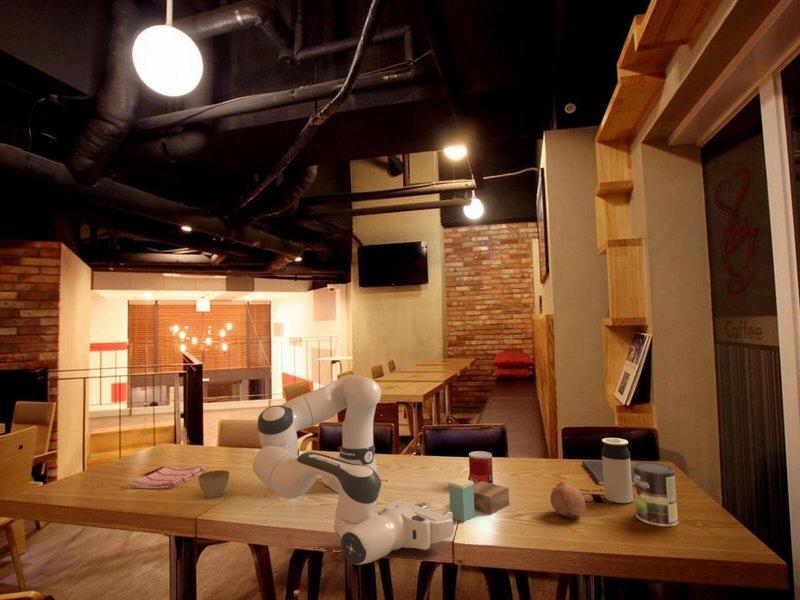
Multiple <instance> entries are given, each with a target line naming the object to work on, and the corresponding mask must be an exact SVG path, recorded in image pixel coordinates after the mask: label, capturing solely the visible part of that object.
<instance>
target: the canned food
mask: <svg viewBox="0 0 800 600" xmlns="http://www.w3.org/2000/svg"><path fill="white" fill-rule="evenodd" d="M468 465H469V467H468V468H469V469H468V470H469V480H470V481H474V484H476V483H478V482H481V481H484V482H487V483H491V484H494V475H493V474H494V471H493V455H492V453H491V452H489V451H483V450H482V451H480V450H478V451H476V450H475V451H471V452H469V453H468ZM474 484H473V485H474Z"/></svg>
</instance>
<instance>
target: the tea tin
mask: <svg viewBox="0 0 800 600" xmlns="http://www.w3.org/2000/svg"><path fill="white" fill-rule="evenodd" d="M473 484H474V481H470V479H466V478H461V477H457V478H455V479H454V480H453V479H452V480H451V481H448V487H449V488H448V489H449V494H448V495H449V511H450V512H452V515H453V517H452V518H455V519H457V520H456V521H458V520H460V521H459V522H461V521H462V522H461V523H463V522H465V521H467V520H469V521H470V520H472V519H474V518H475V516H476V515H475V511H476V510H475V509H474V487H473ZM455 519H454V520H455ZM467 522H468V521H467ZM465 523H466V522H465Z"/></svg>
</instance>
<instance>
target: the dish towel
mask: <svg viewBox="0 0 800 600" xmlns="http://www.w3.org/2000/svg"><path fill="white" fill-rule="evenodd" d="M205 471H207V466H204V465H203V466H202V465H201V466H188V467H187V466H186V467H183V466H182V467H177V466H166V467H163V468H160V469H158V470H157V471H155V472H154V473H150V474H149V475H145V476H142V477H139V478H137V479H132V481H130V487H131V489H134V488H135V489H145V490H147V489H155V490H159V489H168V490H170V489H171V490H172V489H174V488H177V487H178V486H180V485H182V484H184V483H185V482H188V481H190V480H192V479H194V478H195V477H198V476H199V475H201V474H203V473H205Z"/></svg>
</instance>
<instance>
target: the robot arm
mask: <svg viewBox="0 0 800 600" xmlns="http://www.w3.org/2000/svg"><path fill="white" fill-rule="evenodd" d="M381 398H382V389H381V386H380V385H379V384H378V382H376V381H375V380H374V379H372V378H370V377H369V376H364V375H363V376H362V375H357V374H347V375H343V376H340V378H337V379H336V380H334V381H331V382H329V383H328V384H326V385H325V386H322V387H320V388H318V389H317V388H316V389H314V390H311V391H309V392H306V393H303V394H300V395H299V396H296V397H293V398H292V399H289V400H287V401H286V402H284V403H282V404H280V405H272V406H269V407H267V408H265V409H264V410H262V411H261V413H260V414H259V415H258V417H257V429H258V437H259V442H260V446H261V449H259V450H258V451H257V452H256V454H255V455H254V458H253V460H252V471H253V473H254V474H255V475H256V476H257V478H258V479H259V480H260V481H261V482H262V483H263V484H264V485H266V487H268V488H269V489H271V491H272V492H274V493H276V494H277V495H279V496H281V497H282V498H285V499H289V500H290V499H296V498H299V497H301V496H303V495H304V494H306V493H307V492H308V491H309V490H310V489H311V487H312V486H313V484H314V483H315V481H316V479H317V477H318V476H322V477H323V478H322V479H321V483H322V484H323V485H325V486H327V487H328V488H329V489H331V490H333V491H334V492H335V493H337V494H338V499H337V504H336V509H335V516H334V521H333V522H334V523H333V527H334V531H335V533H336V535H337V536H338V538H340V548H341V552H342V554H343V556H344V557H345V559H346V560H347V561H348V562H350V563H351V564H353V565H358V566H360V565H365V564H370V563H373V562H375V561H377V560H380V559H382V558H384V557H386V556H388V554H390V553H391V552H392V551H397V550H399V549H401V548H403V549H405V548H406V549H407V548H408V549H411V548H412V549H419V550H424V551H426V550H428V549H430V548H431V544H438V543H440V542H442V541H444V540H446V539H448V538H449V537H451V536H452V535H453V534H454V519H452V517H453V515H452V512H450V510H445V511H443V514H442V513H439V512H436V511H433V510H430V509H427V503H426V502H424V501H420V502H411V503H410V502H408V501H406V500H405V501H404V500H402V499H396V500H394V501H391V502H389V503H388V504H386V505H385V506H384V507H383V509H382V510H379V511H378V512H377V513H376V507H377V501H378V498H379V495H380V490H381V487H382V481H381V478H380V476H379V474H378V467H377V465H378V464H377V460H376V457H375V455H376V451H375V450H376V448H375V446H376V445H375V443H374V418H375V413H376V408H377V404H379V402H380V399H381ZM345 409H346V410H345ZM343 410H345V411H346V412H345V416H344V420H343V422H342V424H341V431H342V433H341V436H342V437H341V439H342V441H341V442H342V445H341V446H338V449H337V450H338V451H339V453H338V454H339V455H338V457H333V456H329V455H326V454H323V453H319V452H313V451H309V452H307V451H306V452H303V453H301V454H300V448H299V440H298V439H299V438H298V432H299V431H302V430H303V431H304V430H305V429H309V428H311V427H313V426H315V425H318V424H320V423H323V422H326V421H327V420H331V419H333V418H334V417H335V416H336V414H338V413H340V412H341V411H343Z"/></svg>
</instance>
